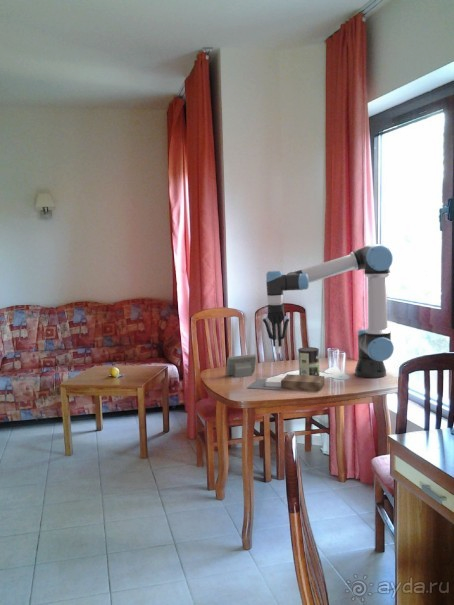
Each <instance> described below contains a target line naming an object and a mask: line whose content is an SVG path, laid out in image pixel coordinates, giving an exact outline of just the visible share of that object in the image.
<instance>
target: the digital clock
mask: <svg viewBox="0 0 454 605" xmlns="http://www.w3.org/2000/svg"><path fill="white" fill-rule="evenodd" d="M256 362H257V355H256V354H253V353H252V354H243V355H236V356H235V355H234V356H228V357H227V358H226V366H225V368H226V369H225V375H226V376H228V377H229V376H231V375H232V376H233V377H234V376H235V377H234V378H236V377H237V378H243V377H252V376H253V373H255V371H256Z"/></svg>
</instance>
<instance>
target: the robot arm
mask: <svg viewBox="0 0 454 605" xmlns="http://www.w3.org/2000/svg"><path fill="white" fill-rule="evenodd" d="M393 262H394V254H393V252H392V250H391V249H390V248H389V247H387V246H386V245H384V244H369V245H366V246H363V247H361V248H358V249H357V250H353V251H351V252H350V253H349V254H347V255H345V256H340V257H338V258H334V259H332V260H328V261H325V262H322V263H319V264H315V265H312V266H308V267H305V268H302V269H300V270H299V269H298V270H296V271H290V272H288V273H287V274H283V271H282V270H271V271H267V272H266V281H265V282H266V299H267V300H266V301H267V304H268V305H267V315H266V317H265V318H263V319H262V321H263V323H264V325H265V328H266V331H267V335H268V338H269V339H270V340H272V346H273V348H275V355H278V354H281V347H282V345H283V342H282V341H283V340H284V339H285V338H286V335H287V330H288V325H289V322H290V320H291V318H289V317H287V316H286V314H285V306H284V304H283V303H284V291H285V292H286V291H303V290H304V291H305V290H308V289H309V287H310V286H309V285H310V283H314V282H317V281H318V282H319V281H321V280H323V279H327V278H330V277H334V276H338V275H340V274H344V273H346V272H350V271H356V272H357V271H361V270H364V272H363V273H364V275H365V277H366V278H367V311H368V312H367V317H368V319H367V320H368V321H367V323H368V325H367V326H368V327H367V328H363V329H362V328H361V329H359V330H358V332H357V352H358V354H357V355H358V356H357V357H358V359H357V361H356V365H355V368H354V374H356V375H355V376H357V377H362V378H368V379H369V378H370V379H371V378H373V379H374V378H382V377H385V376H386V375H387V369H386V366H385V364H384V361H386V360H388V359H390V358H391V357H392V355H393V353H394V350H395V348H394V343H393V342H392V341H391V338H392V337H391V335H392V333H391V330H390V329H388V276H390V274H391V266H392V264H393ZM269 321H270V322H269ZM282 322H284V324H283V329H282ZM270 323H271V326H270Z"/></svg>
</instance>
